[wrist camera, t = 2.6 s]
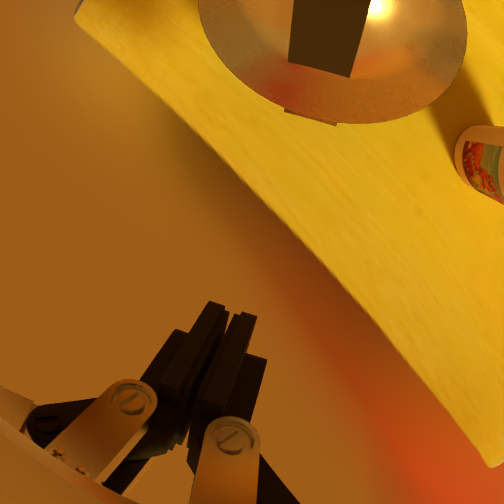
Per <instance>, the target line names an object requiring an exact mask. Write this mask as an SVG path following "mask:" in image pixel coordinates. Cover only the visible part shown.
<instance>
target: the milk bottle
mask: <svg viewBox="0 0 504 504" xmlns="http://www.w3.org/2000/svg"><path fill="white" fill-rule="evenodd" d="M454 159H455V165H456V169H457V171H458V173H459V175H460V177H461V179H462V180H463V181H464V182H465V183H466V184H467V185H468V186H470V187H471V188H473V189H475V190H477V191H479V192H480V193H482V194H484V195H486V196H488V197H490V198H492V199H494V200H496V201H498V202H499V203H501V204H503V205H504V127H500V126H487V125H475V126H471V127H469V128H467V129H466V130H465V131H463V133H462V134H461V135H460V137H459V138H458V140H457V143H456V146H455V152H454Z"/></svg>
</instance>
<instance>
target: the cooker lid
mask: <svg viewBox="0 0 504 504" xmlns="http://www.w3.org/2000/svg"><path fill="white" fill-rule="evenodd" d="M198 9H199V14H200V19H201V23H202V26H203V29H204V32H205V34H206V36H207V38H208V40H209V42H210V44H211V46H212V48H213V49H214V51H215V52H216V54H217V55H218V57H219V58H220V59H221V61H222V62H223V63H224V64H225V66H226V67H227V68H228V69H229V70H230V71H231V72H232V73H233V74H234V75H235V76H236V77H237V78H238V79H240V80H241V81H242V82H243V83H244V84H246V85H247V86H248V87H250V88H251V89H252V90H254V91H255V92H257V93H258V94H260V95H261V96H263V97H265V98H266V99H268V100H270V101H272V102H274V103H276V104H278V105H280V106H282V107H284V108H285V109H284V112H286V113H290V114H294V115H298V116H302V117H305V118H309V119H312V120H316V121H319V122H323V123H326V124H330V125H333V126H336V125H337V122H338V123H350V124H368V123H379V122H385V121H390V120H395V119H398V118H401V117H405V116H407V115H410V114H412V113H414V112H417V111H419V110H421V109H422V108H424V107H426V106H427V105H429V104H431V103H432V102H433V101H434V100H436V99H437V98H438V97H439V96H441V95H442V94H443V92H444V91H445V90H446V89H447V88H448V87H449V86H450V85H451V83H452V82H453V80H454V79H455V77H456V76H457V74H458V72H459V69H460V67H461V65H462V63H463V59H464V55H465V51H466V45H467V23H466V16H465V12H464V8H463V4H462V1H461V0H198Z"/></svg>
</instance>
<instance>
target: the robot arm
mask: <svg viewBox="0 0 504 504" xmlns="http://www.w3.org/2000/svg"><path fill="white" fill-rule="evenodd" d="M228 317H229V312H228V311H225V306H224V305H221V304H218V303H215V302H211V301H209V302H208V303H207V305H206V306H205V308H204V309H203V311H202V313H201V314H200V316H199V317H198V319H197V321H196V322H195V324H194V325H193V327H192V329H191V330H190V332H189V333H186V332H183V331H181V330H178V329H175V330H174V331H173V332H172V334H171V335H170V336H169V338H168V340H167V341H166V342H165V344H164V345H163V347H162V348H161V349H160V351H159V352H158V354H157V355H156V357H155V358H154V360H153V361H152V362H151V364H150V366H149V367H148V368H147V370H146V371H145V373H144V374H143V376H142V377H141V379H140V380H134V379H123V380H120V381H117V382H115V383H114V384H112V385H111V386H110V387H109V388H108V389H107V390H106V391H104V392H103V393H102V394H101V395H100V396H99V397H98V398H92V399H86V400H78V401H71V402H63V403H55V404H46V405H42V406H39V405H36V404H35V402H34V401H33V400H30V399H28V398H25V397H23V396H21V395H19V394H17V393H14V392H12V391H10V390H8V389H6V388H4V387H2V386H0V504H139V503H137V502H134V501H132V500H130V499H128V498H126V496H127V495H128V494H129V492H130V491H131V490H132V489H133V487H134V486H135V485H136V483H137V482H138V481H139V480H140V478H141V477H142V476H143V474H144V473H145V472H146V471H147V469H148V468H149V466H150V465H151V464H152V463H153V461H154V460H155V458H156V456H158V455H163V454H166V453H167V451H168V449H169V450H173V448H174V446H175V444H176V443H177V444H179V445H182V443H183V441H184V439H185V437H186V435H187V432H188V430H189V428H190V430H189V436H188V442H187V448H189V451H188V456H187V463H188V465H189V467H190V468H191V470H192V472H193V473H194V479H193V484H192V489H191V494H190V499H189V504H300V503H299V502H298V501H297V499H296V498H295V497H294V496H293V494H292V493H291V492H290V491H289V490H288V488H287V487H286V486H285V485H284V484H283V482H282V481H281V480H280V479H279V477H278V476H277V475H276V473H275V472H274V471H273V470H272V468H271V467H270V466H269V465H268V463H267V462H266V461H265V459H264V458H263V457H262V455H261V454H260V437H259V434H258V432H257V430H256V429H255V428H254V427H253V426H252V425H251V424H250V421H251V417H252V414H253V410H254V407H255V403H256V400H257V396H258V393H259V389H260V385H261V382H262V378H263V374H264V371H265V367H266V363H267V359H264V358H261V357H257V356H254V355H250V354H248V353H246V352H247V349H248V346H249V342H250V339H251V336H252V332H253V329H254V326H255V323H256V319H257V316H255V315H252V314H249V313H245V312H242V313H241V315H238V314H234V316H233V318H232V320H231V322H230V324H229V326H228V329H227V331H226V333H225V329H226V325H227V321H228ZM224 334H225V335H224Z"/></svg>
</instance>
